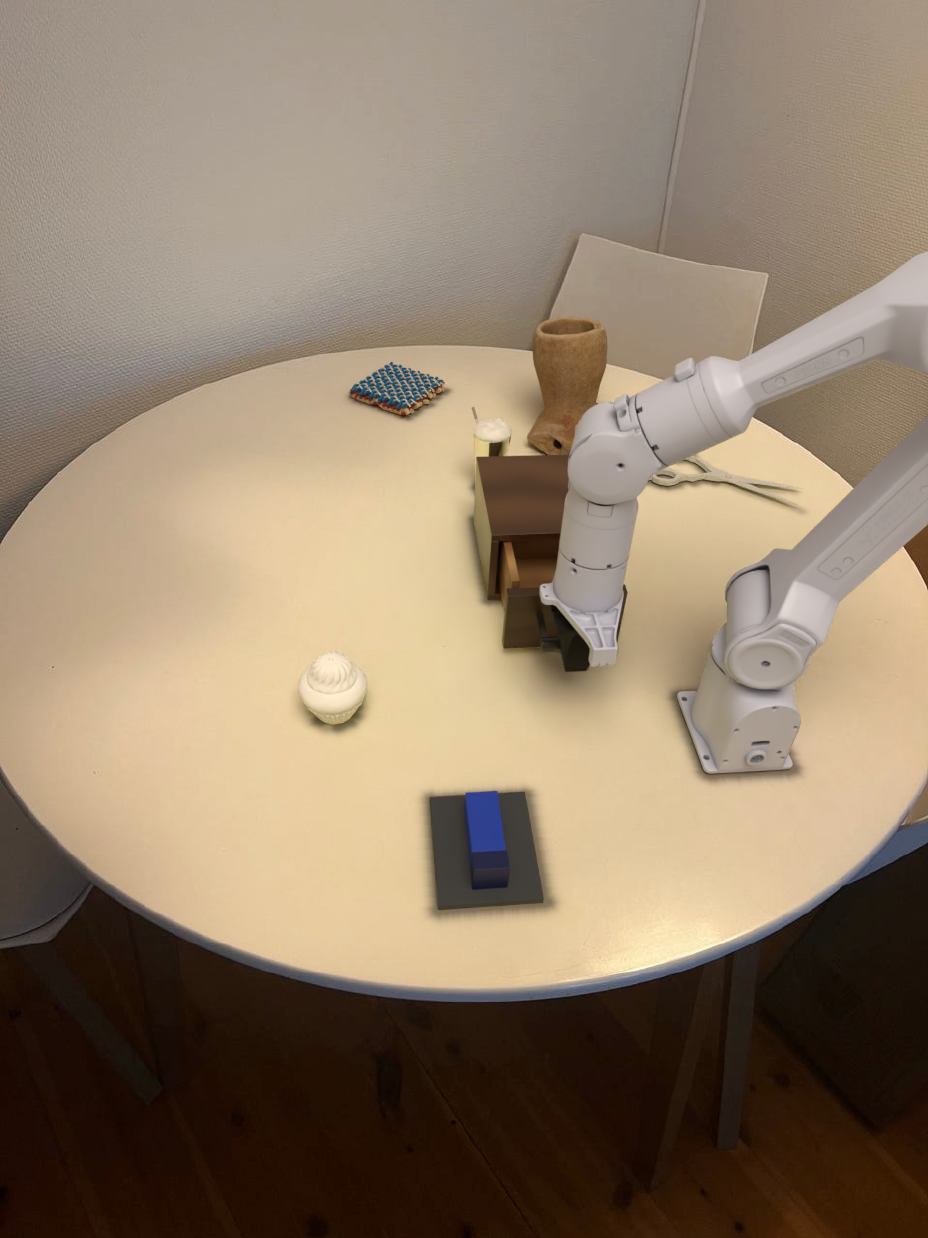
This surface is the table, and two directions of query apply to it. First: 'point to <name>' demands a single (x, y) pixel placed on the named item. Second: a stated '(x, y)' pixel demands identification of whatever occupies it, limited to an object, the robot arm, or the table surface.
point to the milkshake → (491, 437)
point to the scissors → (714, 478)
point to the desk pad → (456, 861)
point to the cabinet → (516, 505)
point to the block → (486, 841)
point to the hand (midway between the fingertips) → (574, 666)
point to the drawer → (530, 594)
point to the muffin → (332, 687)
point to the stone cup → (566, 378)
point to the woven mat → (397, 389)
